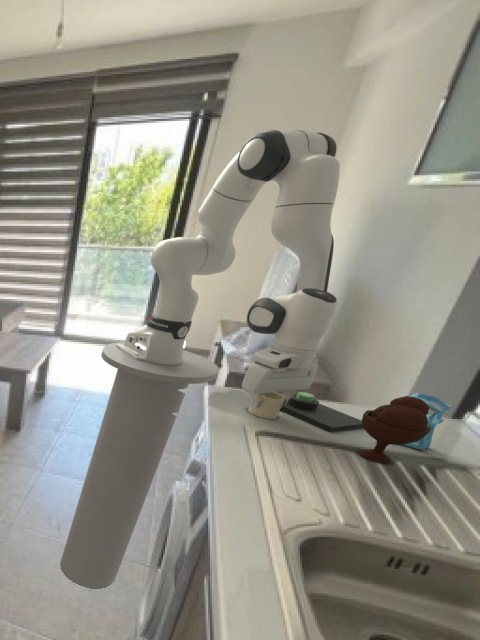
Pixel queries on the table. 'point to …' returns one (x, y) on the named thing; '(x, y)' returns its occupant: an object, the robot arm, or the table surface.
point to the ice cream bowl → (395, 425)
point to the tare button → (305, 396)
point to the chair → (430, 420)
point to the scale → (320, 415)
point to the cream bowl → (269, 405)
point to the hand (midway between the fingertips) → (267, 405)
